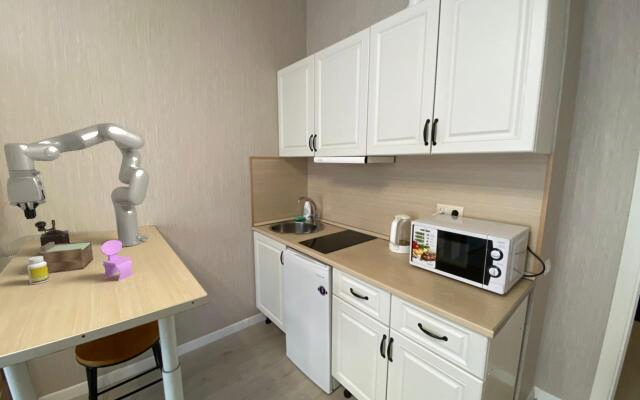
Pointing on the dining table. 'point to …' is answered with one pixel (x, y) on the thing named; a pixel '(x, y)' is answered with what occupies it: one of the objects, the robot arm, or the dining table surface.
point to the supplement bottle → (37, 270)
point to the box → (68, 258)
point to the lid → (62, 247)
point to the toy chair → (116, 260)
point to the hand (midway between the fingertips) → (31, 218)
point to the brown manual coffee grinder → (52, 234)
